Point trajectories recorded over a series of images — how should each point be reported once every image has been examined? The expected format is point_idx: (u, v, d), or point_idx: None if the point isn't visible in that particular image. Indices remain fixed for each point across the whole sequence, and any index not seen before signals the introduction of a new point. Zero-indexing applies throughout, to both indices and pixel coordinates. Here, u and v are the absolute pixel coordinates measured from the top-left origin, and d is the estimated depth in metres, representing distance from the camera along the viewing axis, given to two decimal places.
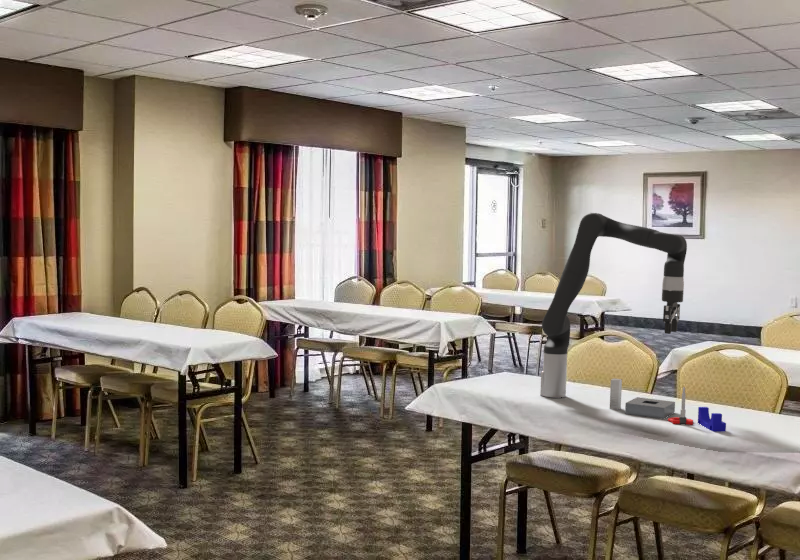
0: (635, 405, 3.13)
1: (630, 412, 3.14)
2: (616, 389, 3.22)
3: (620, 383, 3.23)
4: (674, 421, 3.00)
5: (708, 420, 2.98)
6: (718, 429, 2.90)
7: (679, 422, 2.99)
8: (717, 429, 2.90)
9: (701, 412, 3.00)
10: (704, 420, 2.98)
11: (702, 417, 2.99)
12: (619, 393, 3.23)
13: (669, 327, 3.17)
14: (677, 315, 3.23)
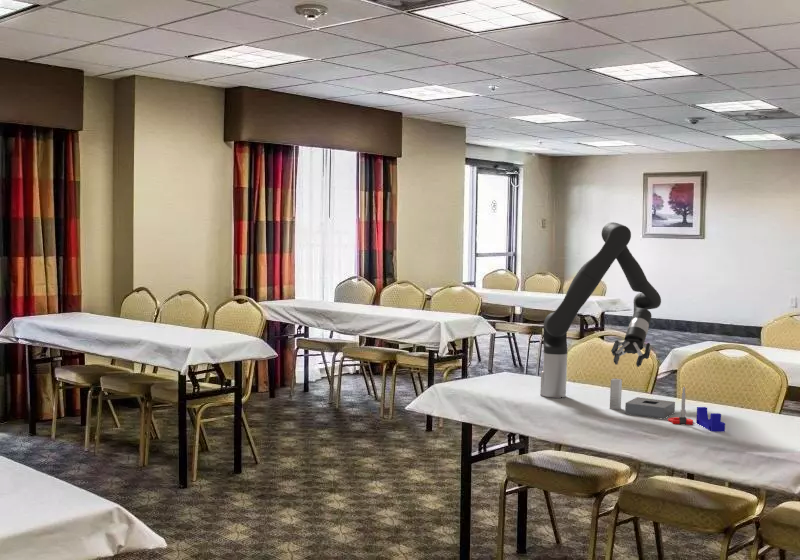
0: (635, 405, 3.13)
1: (630, 412, 3.14)
2: (616, 389, 3.22)
3: (620, 383, 3.23)
4: (674, 421, 3.00)
5: (707, 420, 2.98)
6: (717, 429, 2.90)
7: (679, 422, 2.99)
8: (716, 429, 2.90)
9: (700, 412, 3.00)
10: (703, 420, 2.98)
11: (701, 417, 2.99)
12: (619, 393, 3.23)
13: None
14: (625, 353, 3.39)
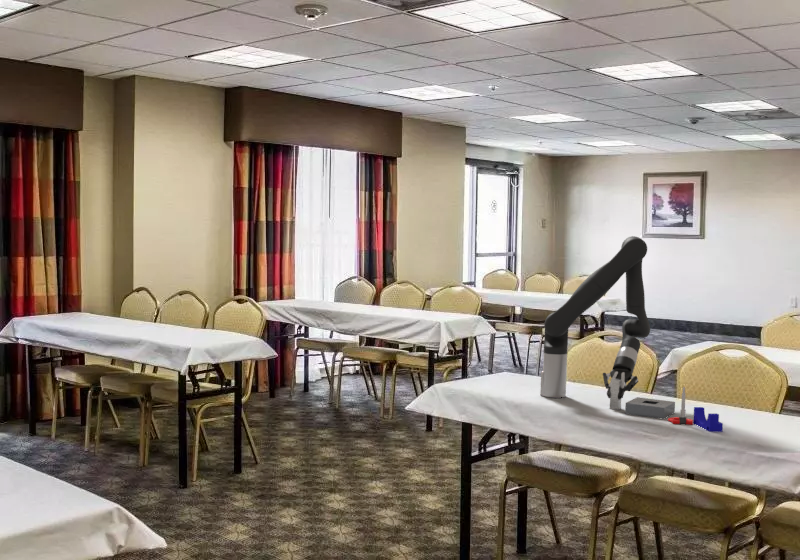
0: (635, 405, 3.13)
1: (630, 412, 3.14)
2: (616, 389, 3.22)
3: (620, 383, 3.23)
4: (674, 421, 3.00)
5: (704, 420, 2.98)
6: (715, 429, 2.90)
7: (679, 422, 2.99)
8: (714, 429, 2.90)
9: (697, 412, 2.99)
10: (700, 420, 2.98)
11: (698, 418, 2.99)
12: None
13: None
14: None
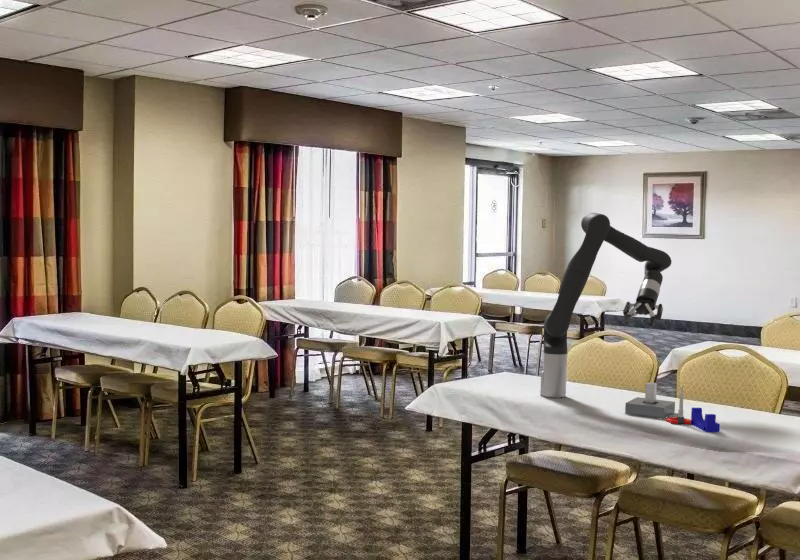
0: (635, 405, 3.13)
1: (630, 412, 3.14)
2: (652, 393, 3.15)
3: (655, 387, 3.16)
4: (672, 421, 3.00)
5: (701, 421, 2.97)
6: (712, 430, 2.89)
7: (677, 422, 3.00)
8: (711, 430, 2.89)
9: (694, 413, 2.98)
10: (697, 421, 2.97)
11: (696, 418, 2.97)
12: (654, 397, 3.16)
13: None
14: (636, 314, 3.36)
